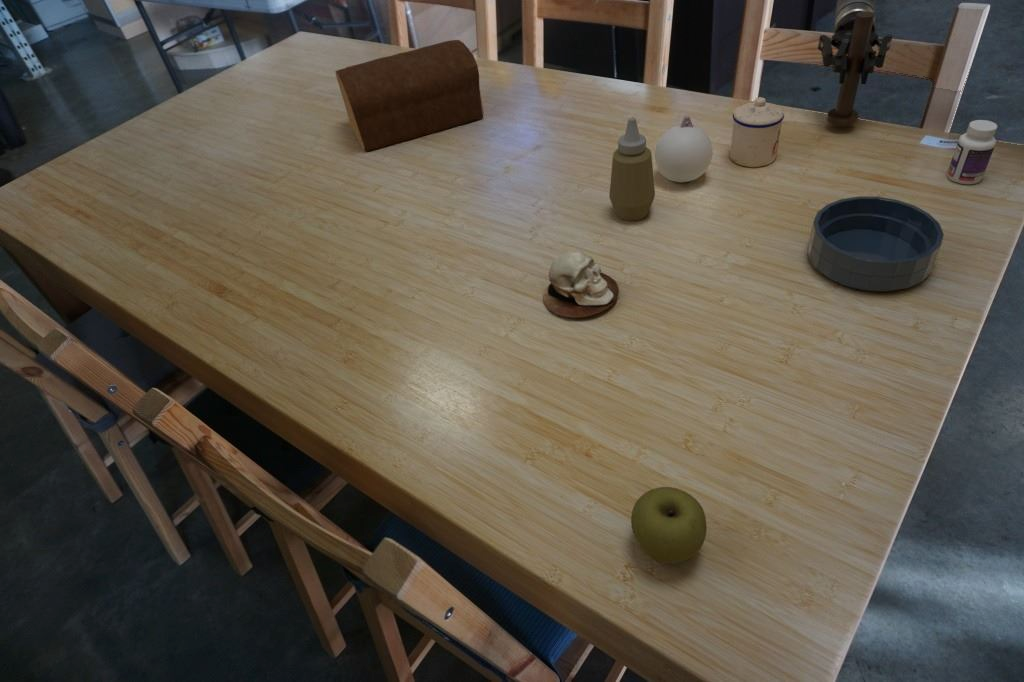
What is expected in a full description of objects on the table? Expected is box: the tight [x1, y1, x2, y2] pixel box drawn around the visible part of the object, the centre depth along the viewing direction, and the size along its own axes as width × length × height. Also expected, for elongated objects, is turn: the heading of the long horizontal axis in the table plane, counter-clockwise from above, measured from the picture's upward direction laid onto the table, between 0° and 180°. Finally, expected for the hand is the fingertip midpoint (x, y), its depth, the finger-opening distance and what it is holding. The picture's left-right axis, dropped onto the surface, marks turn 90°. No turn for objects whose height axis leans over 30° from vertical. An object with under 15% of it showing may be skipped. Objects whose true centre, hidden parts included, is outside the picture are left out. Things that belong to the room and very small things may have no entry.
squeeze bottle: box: [608, 117, 656, 222], centre depth 116 cm, size 8×8×18 cm
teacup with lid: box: [729, 96, 785, 168], centre depth 128 cm, size 12×9×12 cm
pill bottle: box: [946, 119, 998, 185], centre depth 114 cm, size 5×5×10 cm
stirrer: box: [826, 11, 876, 127], centre depth 127 cm, size 6×6×20 cm
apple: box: [630, 486, 707, 564], centre depth 72 cm, size 8×8×7 cm
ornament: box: [654, 115, 713, 183], centre depth 125 cm, size 10×10×12 cm
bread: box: [335, 39, 485, 152], centre depth 156 cm, size 18×30×16 cm, turn 111°
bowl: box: [807, 195, 945, 292], centre depth 103 cm, size 17×17×6 cm
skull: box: [542, 250, 620, 319], centre depth 106 cm, size 12×10×10 cm
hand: (854, 76), depth 123 cm, fingers closed on stirrer, 3 cm apart
